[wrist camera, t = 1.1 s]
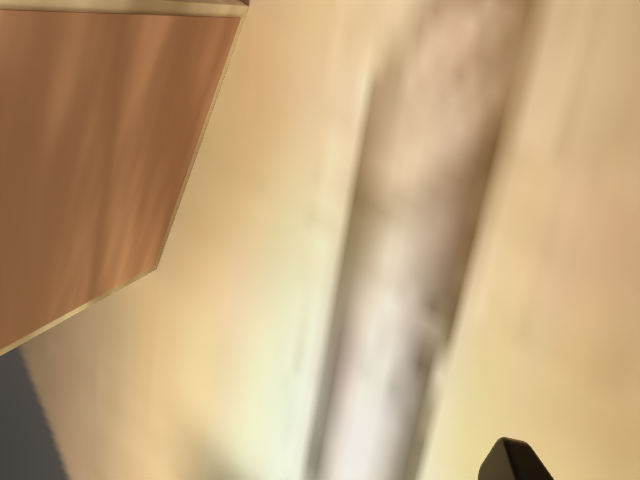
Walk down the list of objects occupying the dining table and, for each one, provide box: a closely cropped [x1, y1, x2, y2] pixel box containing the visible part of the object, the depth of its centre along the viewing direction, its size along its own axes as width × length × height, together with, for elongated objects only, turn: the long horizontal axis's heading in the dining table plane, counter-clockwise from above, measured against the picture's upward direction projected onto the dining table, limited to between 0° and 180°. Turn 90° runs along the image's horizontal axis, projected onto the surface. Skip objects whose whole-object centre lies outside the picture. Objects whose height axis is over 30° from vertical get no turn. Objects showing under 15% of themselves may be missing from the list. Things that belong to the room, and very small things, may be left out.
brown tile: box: [0, 0, 249, 356], centre depth 18 cm, size 3×12×10 cm, turn 154°
